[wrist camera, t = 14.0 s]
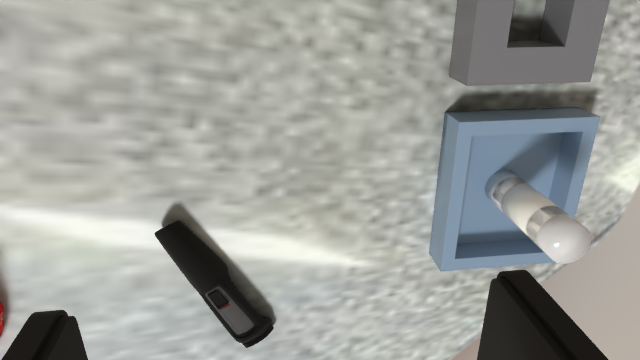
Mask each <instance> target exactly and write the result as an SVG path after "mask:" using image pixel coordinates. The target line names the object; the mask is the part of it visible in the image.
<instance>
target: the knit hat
mask: <svg viewBox="0 0 640 360" xmlns="http://www.w3.org/2000/svg"><path fill="white" fill-rule="evenodd" d="M3 326H4V317H3V307H2V304H1V302H0V335H1V332H2V329H3Z"/></svg>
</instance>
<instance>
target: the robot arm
mask: <svg viewBox="0 0 640 360" xmlns="http://www.w3.org/2000/svg"><path fill="white" fill-rule="evenodd" d="M2 360H88V358H87V355H86V351H85V348H84V344H83V341H82V337H81V334H80V330H79V327H78V323H77V320H76V318H75V317H74V316H68V315H67V313H66V312H65V311H64V310H56V311H45V312H35V313H33V314H32V315H31V316H30V317H29V318H28V320H27V321H26V323H25V324H24V326H23V328H22V329H21V331H20V332H19V334H18V335H17V337H16V338H15V340H14V341H13V343H12V345H11V346H10V348H9V349H8V351H7V352H6V354H5V355H4V357H3V358H2ZM477 360H608V359H607V357H605V355H604V354H603V353H602V352H601V351H600V350H599V349H598V348H597V347H596V345H595V344H594V343H593V342H592V341H591V340H590V339H589V338H588V337H587V336H586V334H585V333H584V332H583V331H582V330H581V329H580V328H579V327H578V326H577V325H576V324H575V322H574V321H573V320H572V319H571V318H570V317H569V316H568V315H567V314H566V313H565V312H564V310H563V309H562V308H561V307H560V306H559V305H558V304H557V303H556V302H555V301H554V299H553V298H552V297H551V296H550V295H549V294H548V293H547V292H546V291H545V290H544V289H543V288H542V286H541V285H540V284H539V283H538V282H537V281H536V280H535V279H534V278H533V276H532V275H531V274H530V273H529V272H527V271H526V270H514V271H503V272H500V273H499V274H498V275H497V278H495V279H493V280H492V281H491V284H490V289H489V295H488V301H487V306H486V312H485V318H484V323H483V329H482V335H481V340H480V346H479V352H478V357H477Z"/></svg>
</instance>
